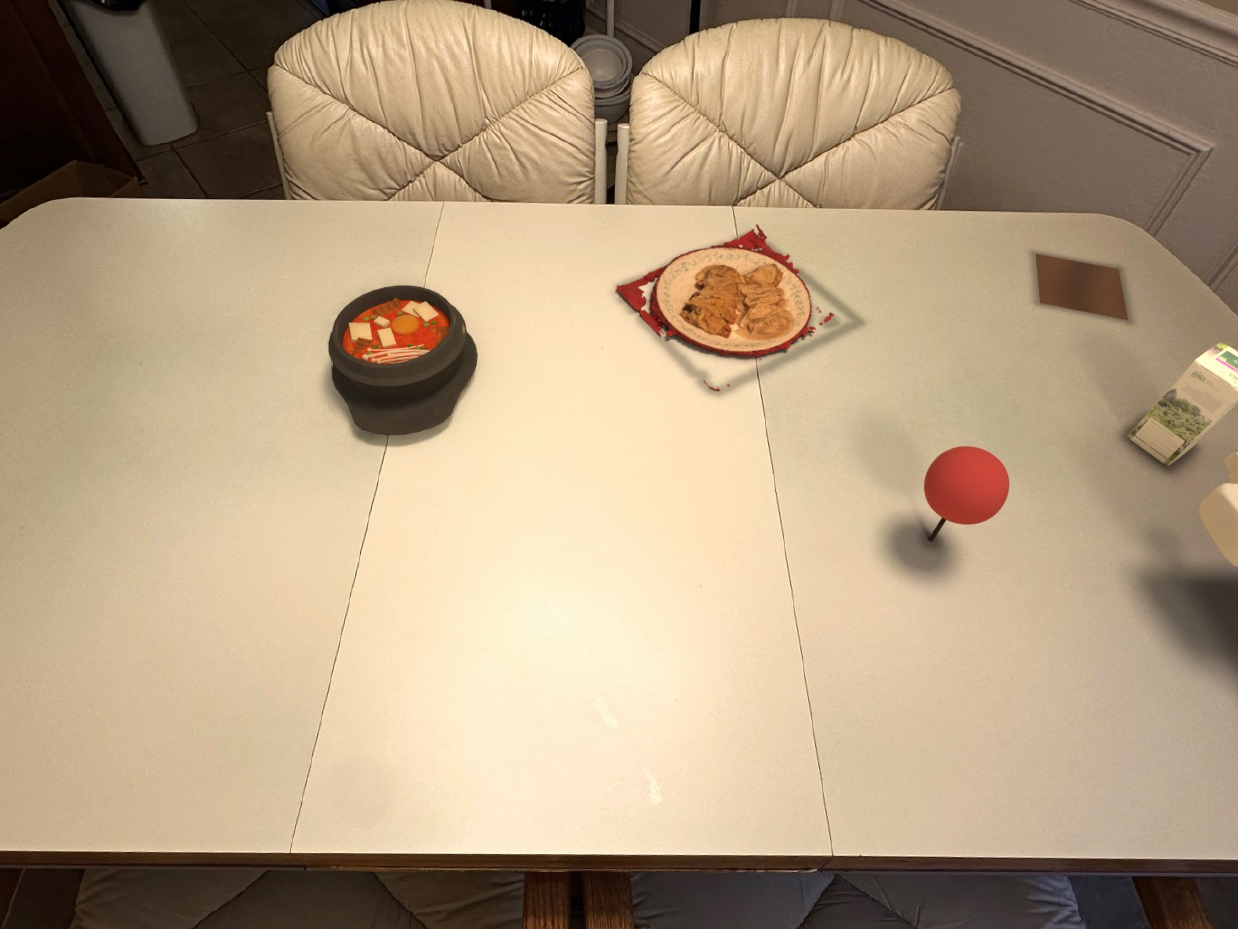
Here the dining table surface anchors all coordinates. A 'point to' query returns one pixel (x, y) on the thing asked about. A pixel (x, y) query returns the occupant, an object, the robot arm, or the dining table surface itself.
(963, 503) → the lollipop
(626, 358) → the dining table surface
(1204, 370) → the syrup box
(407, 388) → the casserole
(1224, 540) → the robot arm
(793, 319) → the plate with food
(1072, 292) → the stand
